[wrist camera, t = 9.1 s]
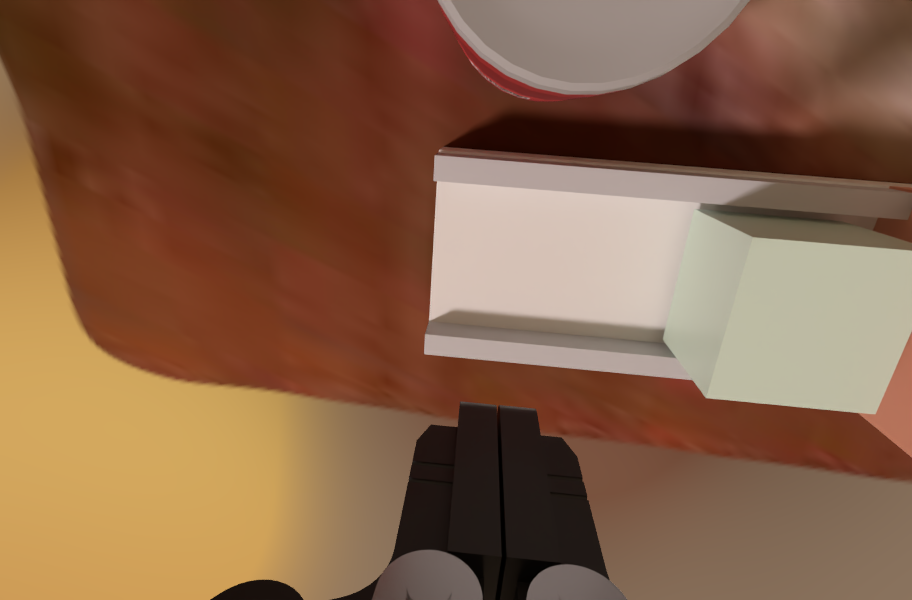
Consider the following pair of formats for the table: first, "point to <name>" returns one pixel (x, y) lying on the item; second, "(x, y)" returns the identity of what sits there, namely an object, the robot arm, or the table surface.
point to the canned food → (582, 41)
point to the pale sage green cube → (790, 310)
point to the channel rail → (609, 256)
